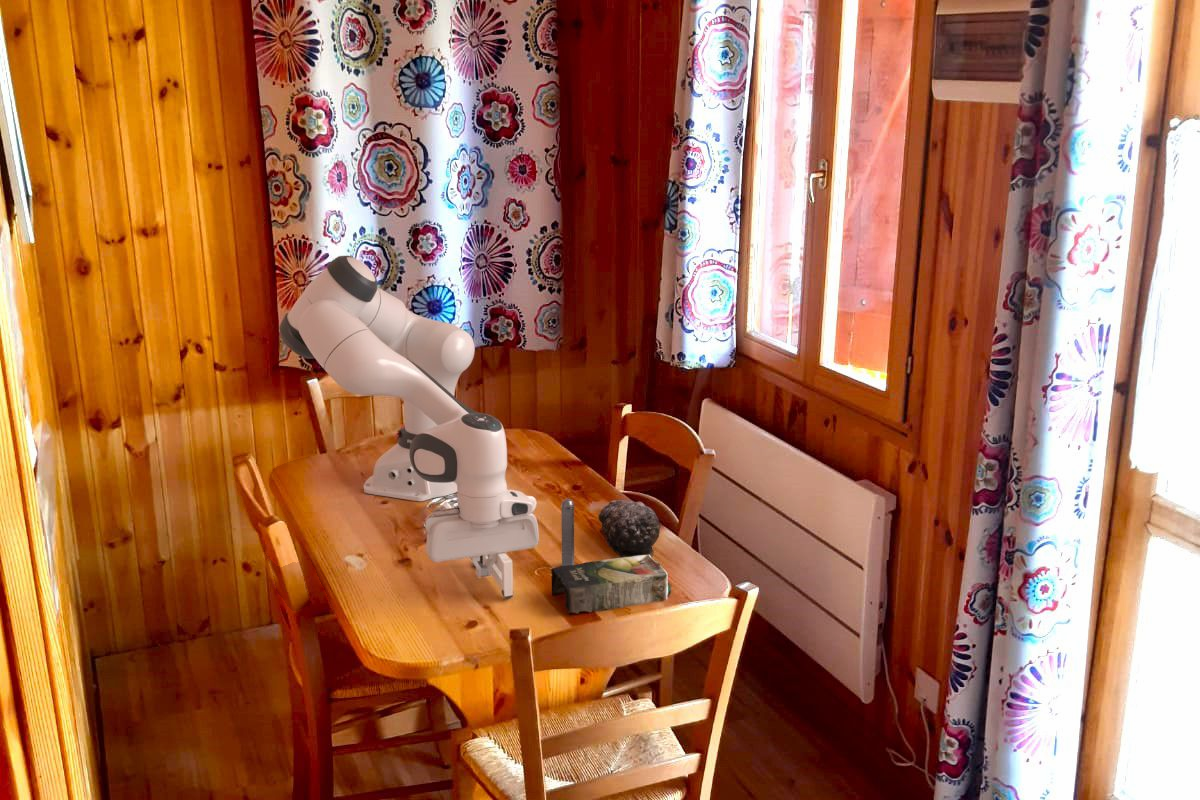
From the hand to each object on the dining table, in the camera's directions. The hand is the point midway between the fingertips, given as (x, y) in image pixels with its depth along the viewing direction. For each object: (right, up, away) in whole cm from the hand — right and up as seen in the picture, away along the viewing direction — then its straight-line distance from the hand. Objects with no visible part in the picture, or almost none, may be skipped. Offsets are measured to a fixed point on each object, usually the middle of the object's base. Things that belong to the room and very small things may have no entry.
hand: (483, 575), depth 197 cm
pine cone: (+26, +3, +21) cm, 34 cm away
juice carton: (+23, -4, -1) cm, 23 cm away
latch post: (+15, 0, +11) cm, 19 cm away
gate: (+2, -2, +3) cm, 4 cm away
